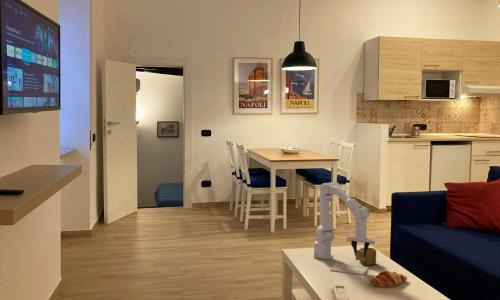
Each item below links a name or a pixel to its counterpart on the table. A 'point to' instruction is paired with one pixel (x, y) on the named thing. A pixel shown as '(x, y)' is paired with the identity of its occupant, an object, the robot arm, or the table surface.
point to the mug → (369, 257)
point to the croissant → (388, 279)
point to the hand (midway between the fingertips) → (360, 255)
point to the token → (360, 255)
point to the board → (349, 269)
